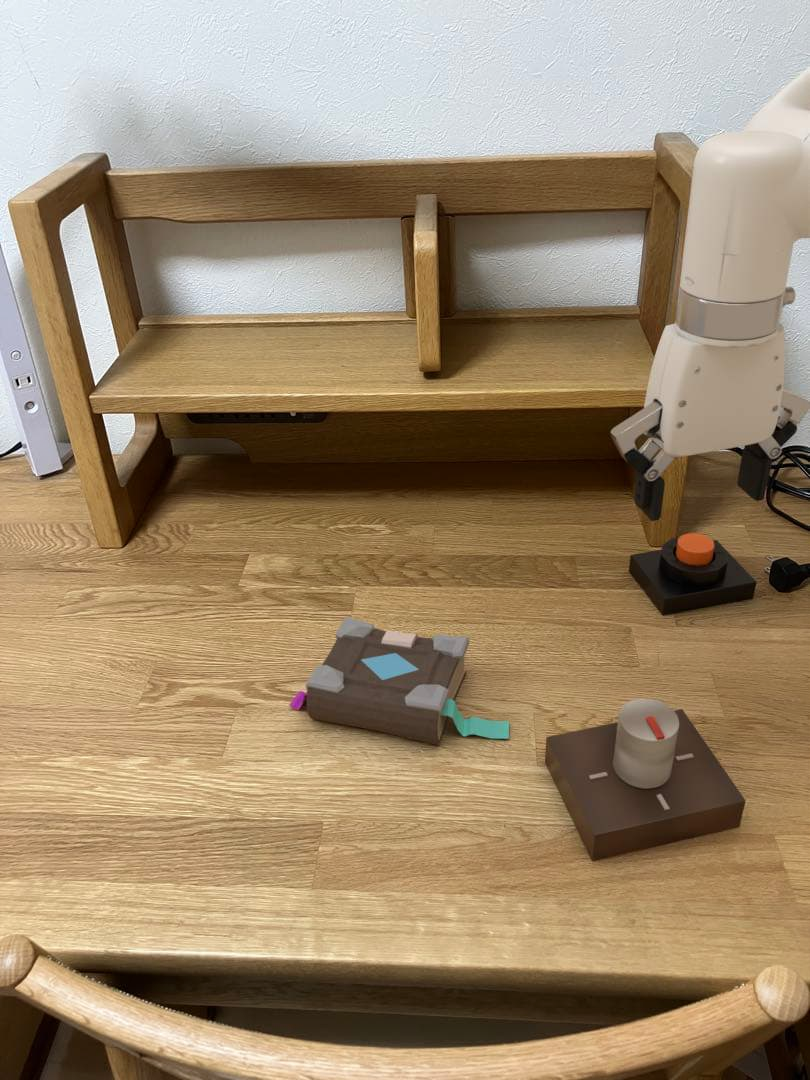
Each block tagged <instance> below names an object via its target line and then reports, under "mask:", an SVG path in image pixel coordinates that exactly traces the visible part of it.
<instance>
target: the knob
mask: <svg viewBox="0 0 810 1080" xmlns="http://www.w3.org/2000/svg"><path fill="white" fill-rule="evenodd" d="M674 711H675V710H674V709H673V708H672V707H670V706H669V705H668V704H666V703H664V702H662V701H660V700H656V699H653V698H635V699H632V700H630V701H627V702H625V704H624V705H622V706H621V708H620V709H619V712H618V718H617V722H618V725H617V734H616V742H615V750H614V758H613V767H614V770H615V772H616V774H617V775H618V776H619V777H620V778H621V779H622V780H623V781H624V782H626V783H627V784H629V785H632V786H634V787H638V788H644V789H650V788H656V787H659V786H661V785H663V784H664V783H665V782H666V781H667V780H668V779H669V777H670V775H671V770H672V764H673V758H674V753H675V747H676V741H677V736H678V730H679V719H678V716H677V714H676V713H675V712H674Z"/></svg>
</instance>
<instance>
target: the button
mask: <svg viewBox="0 0 810 1080" xmlns="http://www.w3.org/2000/svg"><path fill="white" fill-rule="evenodd" d="M679 537H680V538H679V539H678V542H677V549H676V557H677V559H678V560H679V561H682V562H684V563H686V564H689V565H697V566H701V565H706V564H709V563H710V562H711V561H712V557H713V552H714V546H715V545H714V542H713V539H711V538H710V537H708V536H707V535H705V534H701V533H695V532H693V533H684V534H682V535H681V536H679Z"/></svg>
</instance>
